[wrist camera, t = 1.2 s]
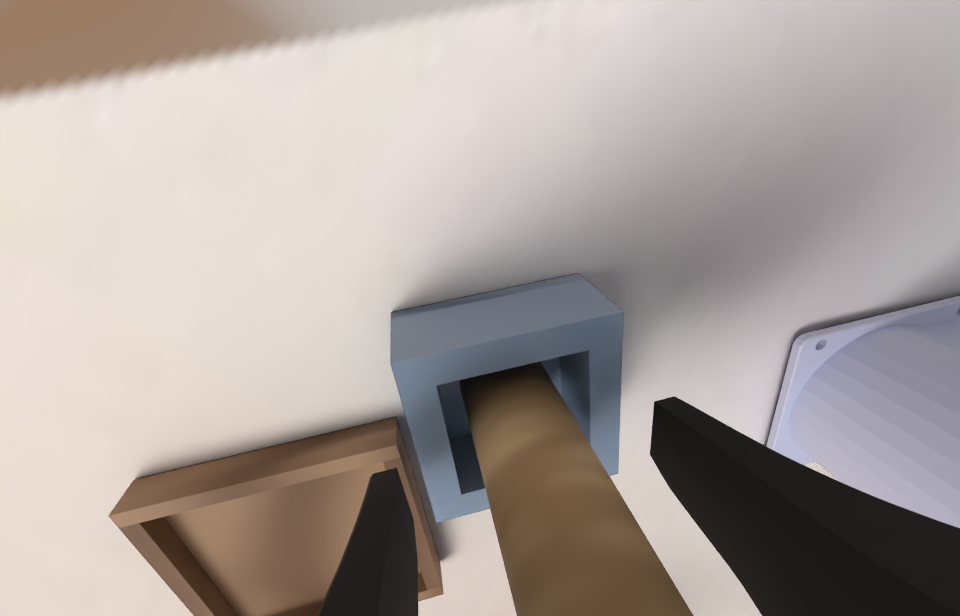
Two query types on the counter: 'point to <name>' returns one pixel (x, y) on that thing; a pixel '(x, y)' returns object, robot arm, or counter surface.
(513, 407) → the oak dowel
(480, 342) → the ceramic holder
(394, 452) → the walnut tray
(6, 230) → the counter surface
